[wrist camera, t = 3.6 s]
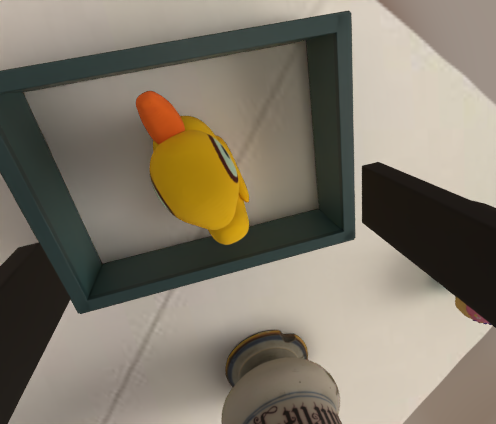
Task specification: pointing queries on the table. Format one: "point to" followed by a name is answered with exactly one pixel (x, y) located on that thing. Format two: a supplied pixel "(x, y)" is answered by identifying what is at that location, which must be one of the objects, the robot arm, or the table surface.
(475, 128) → the table surface
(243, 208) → the duckling
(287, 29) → the rectangular frame
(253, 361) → the apothecary jar
